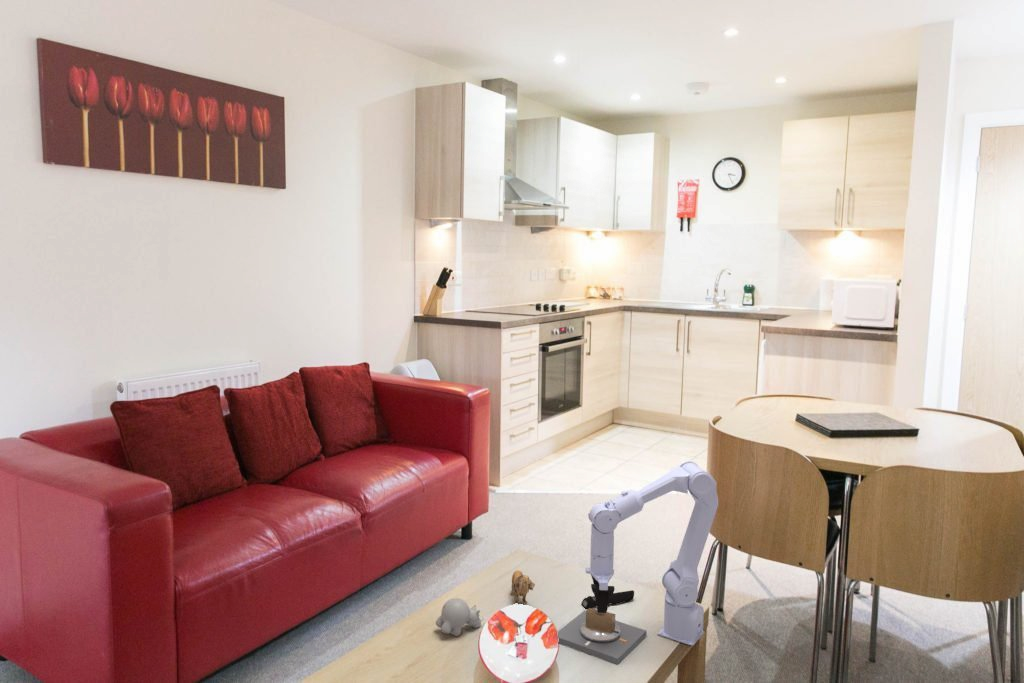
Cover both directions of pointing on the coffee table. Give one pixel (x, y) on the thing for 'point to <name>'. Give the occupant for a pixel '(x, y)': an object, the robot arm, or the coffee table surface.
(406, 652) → the coffee table surface
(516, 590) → the lion figurine
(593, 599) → the electric trimmer
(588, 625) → the dial
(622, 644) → the dial base
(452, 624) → the chubby cartoon animal
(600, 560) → the robot arm
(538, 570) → the coffee table surface
